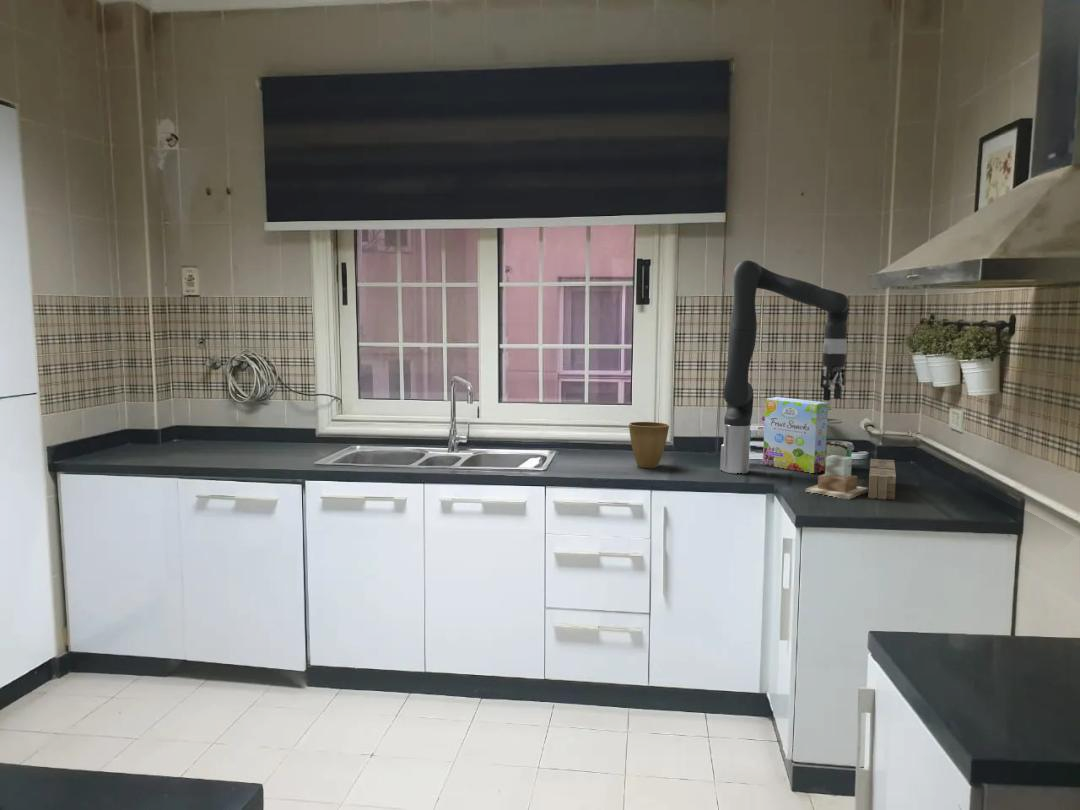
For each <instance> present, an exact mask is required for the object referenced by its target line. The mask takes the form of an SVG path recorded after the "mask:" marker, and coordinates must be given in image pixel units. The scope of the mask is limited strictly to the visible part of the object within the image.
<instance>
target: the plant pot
mask: <svg viewBox="0 0 1080 810" xmlns="http://www.w3.org/2000/svg"><path fill="white" fill-rule="evenodd" d="M669 428H670V425H669V423H664V422H656V421H633V422H628V429H629V437H630V438H629V439H630V442H631V448H632V452H633V457H634V459H635V462H636V466H637V467H639V468H643V469H655V468H657V467H658V466H659V464H660V463H661V458H662V456H663V453H664V450H665V447H666V443H667V440H668V439H667V438H668V436H669V435H668V434H669Z"/></svg>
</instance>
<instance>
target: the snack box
mask: <svg viewBox="0 0 1080 810" xmlns="http://www.w3.org/2000/svg"><path fill="white" fill-rule="evenodd" d="M764 400H765V405H764V427H763V450H762V454H763V455H762V465H764V466H769V467H774V468H778V467H779V469H783V468H784V469H785V470H789V469H790V470H791V471H794V470H797V471H796V472H800V471H803V472H802V473H805V472H809V473H808V474H811V473H816V474H819V473H822V472H821V471H824V472H825V465H826V440H827V432H828V415H829V402H825V401H824V402H823V401H816V400H807V399H801V398H800V399H799V398H790V397H779V396H774V397H768V398H767V397H766V398H765V399H764ZM818 472H819V473H818Z"/></svg>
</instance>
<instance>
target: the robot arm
mask: <svg viewBox="0 0 1080 810" xmlns="http://www.w3.org/2000/svg"><path fill="white" fill-rule="evenodd" d="M732 276H733V304H732V309H731V318H730V325H729V336H728V337H729V338H728V351H727V352H728V354H727V370H726V377H725V380H724V381H725V382H724V387H723V391H722V392H723V399H724V401H725V402H726V413H725V415H724V418H723V419H724V421H723V444H721V445H720V462H719V463H720V464H719V465H720V466H719V471H721V470H722V471H721V472H724V473H729V474H737V473H739V474H740V473H742V474H747V473H749V468H750V446H751V445H750V443H751V421H752V417H753V407H754V387H753V386H752V385H751V383H750V382H749V370H750V364H751V360H752V357H753V354H754V352H755V347H756V342H757V341H756V340H757V331H758V330H757V329H758V327H757V326H758V322H757V310H756V294H757V289H760V290H766V291H769V292H772V293H776V294H778V295H780V296H783V297H785V298H788V299H791V300H793V301H796V302H798V303H801V304H805V305H807V306H811V307H816V308H819V309H821V310H823V311H826V323H825V325H824V336H823V337H824V339H823V345H822V360H821V361H822V362H821V365H822V366H823V367H826V369H822V370H821V371H820V372H821V374H820V376H821V377H820V385H819V386H820V388H822V389H823V394H822V395H823V396H822V399H823V401H827V402H829V401H831V395H832V394H831V393H832V387H833V386H834V388H833V399H837V400H839V399H841V398H842V389H843V386H845V385H846V368H843V367H845V366H846V364H847V349H848V348H847V347H848V343H847V334H848V333H847V331H848V325H847V324H848V323H847V322H848V315H849V306H850V300H849V298H848V297H847V295H845V293H841V292H837V291H835V290H834V291H833V290H831V289H827V288H822V287H820V286H819V285H816V284H813V283H810V282H806V281H804V280H802V279H796V278H792V277H788V276H786V275H781V274H779V273H775V272H773V271H771V270H769V269H767V268H765V267H763V266H762V265H760V264H759V263H758V262H755V261H752V260H747V259H746V260H742V261H740V262H739V263H738V264H736V266H735V267H734V270H733V275H732ZM740 475H741V474H740Z"/></svg>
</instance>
